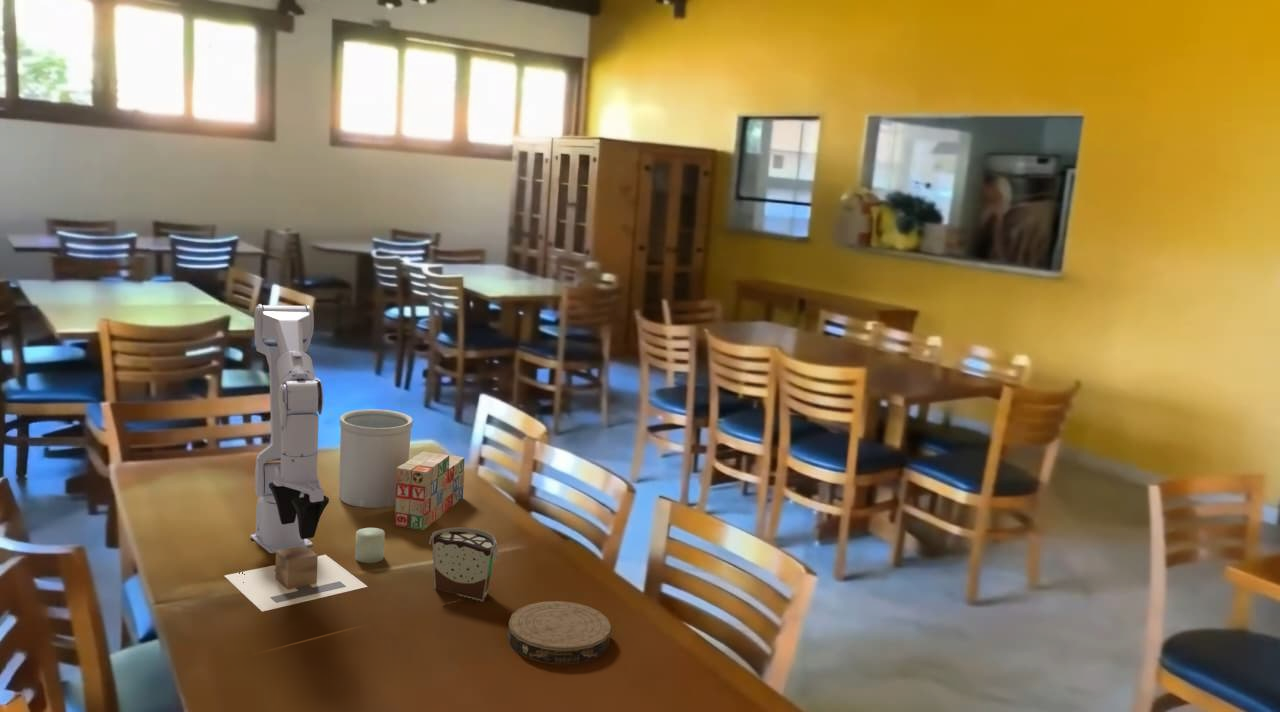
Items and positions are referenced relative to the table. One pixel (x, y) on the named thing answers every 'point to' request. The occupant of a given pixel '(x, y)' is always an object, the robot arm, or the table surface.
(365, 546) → the sage cylinder
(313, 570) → the wooden cube
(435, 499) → the stack of blocks
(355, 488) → the utensil holder
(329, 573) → the board
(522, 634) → the beige round flat disc
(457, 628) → the table surface
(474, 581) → the food container
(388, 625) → the table surface
